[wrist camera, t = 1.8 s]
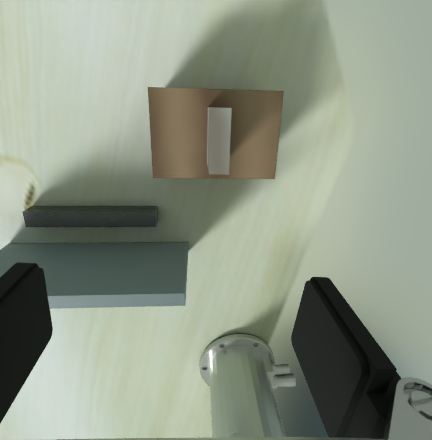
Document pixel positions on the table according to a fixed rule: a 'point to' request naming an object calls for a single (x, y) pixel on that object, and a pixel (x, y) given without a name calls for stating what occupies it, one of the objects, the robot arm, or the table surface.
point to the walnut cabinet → (214, 132)
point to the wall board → (106, 272)
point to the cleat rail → (91, 216)
